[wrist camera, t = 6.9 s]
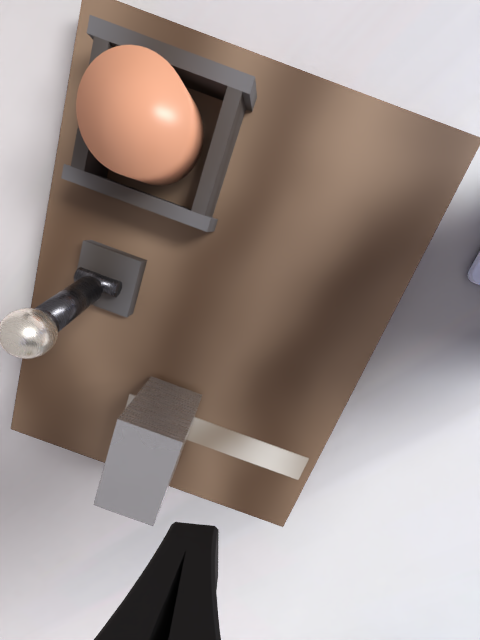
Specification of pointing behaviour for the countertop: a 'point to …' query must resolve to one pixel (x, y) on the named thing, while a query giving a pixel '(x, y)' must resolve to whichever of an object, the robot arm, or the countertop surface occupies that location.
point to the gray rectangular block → (146, 450)
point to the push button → (139, 116)
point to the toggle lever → (53, 315)
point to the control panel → (234, 262)
